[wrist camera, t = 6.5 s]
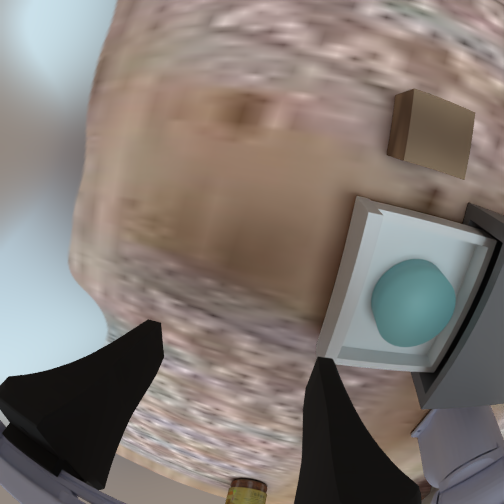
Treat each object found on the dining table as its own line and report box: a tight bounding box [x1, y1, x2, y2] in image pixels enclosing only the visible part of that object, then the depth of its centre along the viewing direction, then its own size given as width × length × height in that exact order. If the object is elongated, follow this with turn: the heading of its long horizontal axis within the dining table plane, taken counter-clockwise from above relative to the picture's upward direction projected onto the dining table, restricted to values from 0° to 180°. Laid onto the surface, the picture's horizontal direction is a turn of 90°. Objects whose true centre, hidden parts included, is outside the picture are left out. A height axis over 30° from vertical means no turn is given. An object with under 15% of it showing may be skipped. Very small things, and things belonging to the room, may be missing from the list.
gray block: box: [411, 203, 504, 409], centre depth 16 cm, size 14×11×6 cm
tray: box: [316, 196, 497, 373], centre depth 17 cm, size 11×10×4 cm
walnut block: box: [387, 89, 475, 180], centre depth 14 cm, size 4×4×4 cm
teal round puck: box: [371, 259, 456, 347], centre depth 17 cm, size 6×6×2 cm
